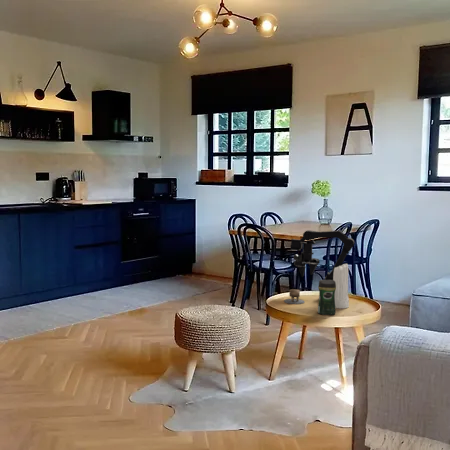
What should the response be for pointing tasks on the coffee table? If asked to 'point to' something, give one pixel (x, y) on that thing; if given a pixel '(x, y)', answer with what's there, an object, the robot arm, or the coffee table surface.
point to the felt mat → (294, 301)
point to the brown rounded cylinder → (294, 294)
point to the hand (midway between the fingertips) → (306, 275)
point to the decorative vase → (341, 286)
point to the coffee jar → (326, 297)
